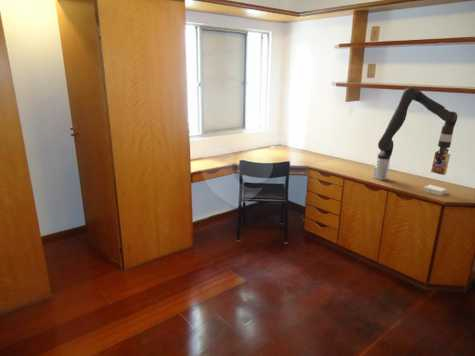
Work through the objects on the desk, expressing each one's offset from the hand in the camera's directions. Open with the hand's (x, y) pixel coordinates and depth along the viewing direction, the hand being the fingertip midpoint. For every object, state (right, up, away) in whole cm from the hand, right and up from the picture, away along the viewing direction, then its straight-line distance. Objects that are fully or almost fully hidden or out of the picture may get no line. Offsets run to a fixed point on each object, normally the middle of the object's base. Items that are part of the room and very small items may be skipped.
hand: (440, 163), depth 244 cm
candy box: (0, -7, +2) cm, 7 cm away
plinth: (-1, -21, +6) cm, 21 cm away
